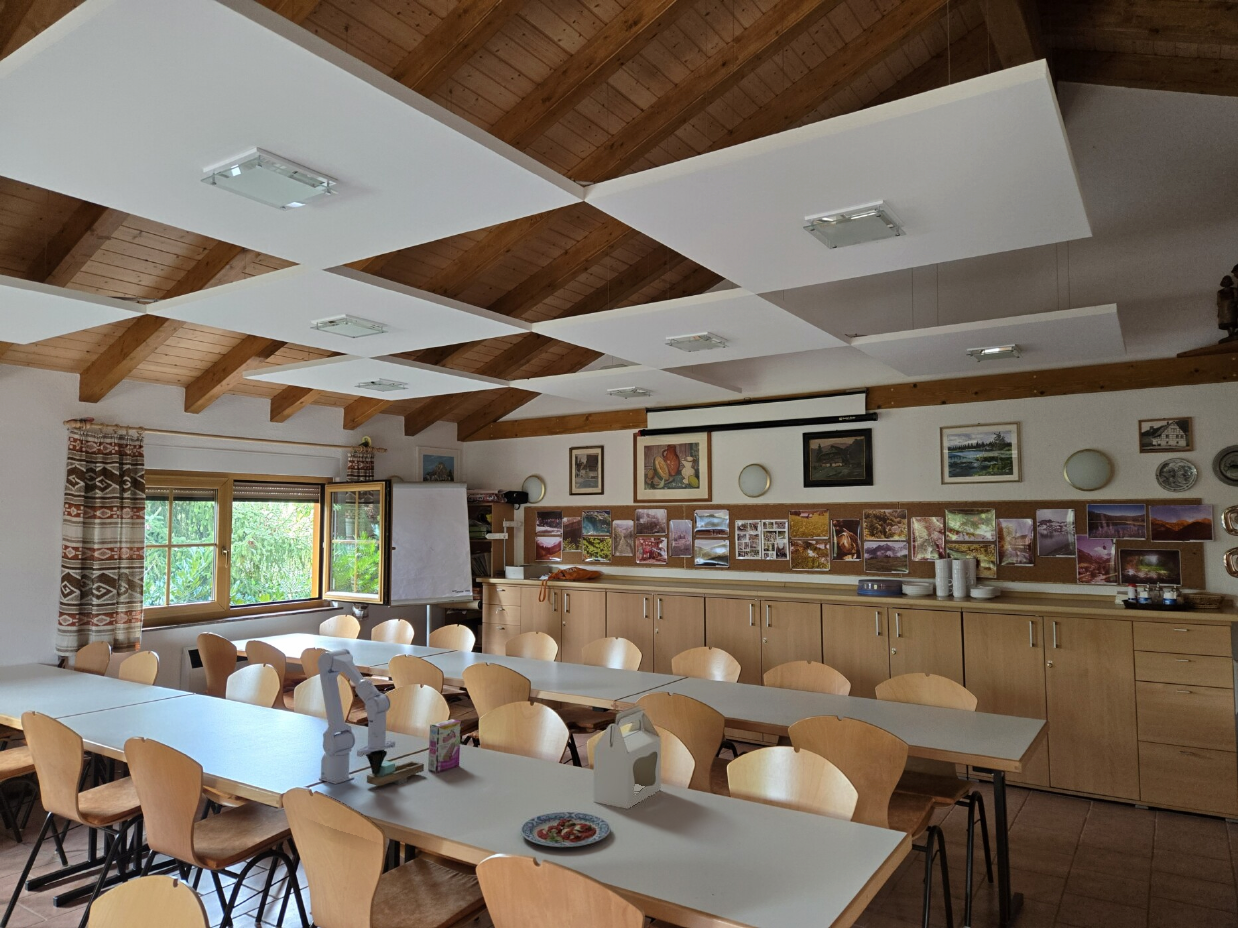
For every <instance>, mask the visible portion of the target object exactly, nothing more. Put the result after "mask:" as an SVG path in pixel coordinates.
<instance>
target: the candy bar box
mask: <svg viewBox="0 0 1238 928" xmlns="http://www.w3.org/2000/svg"><path fill="white" fill-rule="evenodd" d="M461 727H462V721H461V720H458V719H453V718H452V719H449V720H445V721H440V722H435V723H431V724H429V736H428V737H429V739H428V740H429V741H428V765H427V766H428V767H427V768H428V769H427V770H428V771H429V772H432V773H435V774H437V773H441V772H443V771H446V770H450V769H453V768H456V767H457V768H458V767H460V753H461V752H460V751H461V749H460V748H461Z"/></svg>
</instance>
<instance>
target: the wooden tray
mask: <svg viewBox="0 0 1238 928" xmlns="http://www.w3.org/2000/svg"><path fill="white" fill-rule="evenodd" d="M424 770H425V764H424V763H422V762H418V761H414V760H411V761H408V762H405V763H401V764H395V771H393V773H391V774H388V775H385V776H381V777H377V774H372V773H370V774H366V784H368V785H369V784H370V785H374V786H376V787H380V786H384V785H386V784H389V783H392V784H395V785H401V784H404V783H407V782H408V777H410V776H413V775H416V774H419V773H422V772H424Z"/></svg>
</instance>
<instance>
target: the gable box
mask: <svg viewBox="0 0 1238 928" xmlns="http://www.w3.org/2000/svg"><path fill="white" fill-rule="evenodd" d="M645 710H646V709H645V708H644V709H642V706H641V705H639V704H638V705H636V706H633V707H631V708H628V709H625V710H623V711H620V712H617V713H615V716H614V723H611V724H609V725H608V726H607V727H606V729H605V731H604V732H603V733H602V735H601V736H600V738H599V739H598V741H597V742H596V744H595V745H594V746H593V789H592V790H593V792H592V793H593V794H592V795H593V797H592V798H593V803H597V804H601V805H605V804H606V805H605V806H610V805H612V806H611V807H614V806H617V807H616V808H619V807H623V808H628V809H627V810H630V809H631V808H633V807H634V806H633V805H635V804H637V803H638V802H640V803H641V801H642V800H643V801H645V800H646V799H645V798H647V797H648V796H650V797H652V796H653V795H652V794H654V793H655V792H657V791H658V790H660V789H662V787H661V786H662V785H661V783H662V782H661V780H662V775H661V774H662V769H661V768H662V764H661V763H662V738H661V736H660V735H659V733H658V731H657V730H656V729H655V727H654V725H653V723H652V722H651V720H650V719H649V717H648V716H647V715H646V713H645ZM629 724H631V726H630V727H629V730H628V731H627V732H624V733H622V730H621V728H622V727H625V726H626V725H629ZM635 784H639V785H641V786H645V787H644V788H642V789H641V790H640V791H634V786H635ZM660 791H661V790H660ZM634 792H639V793H634ZM657 793H658V792H657ZM635 794H636V795H635ZM655 794H656V793H655ZM655 794H654V795H655ZM651 795H652V796H651ZM648 798H649V797H648ZM648 798H647V799H648ZM644 799H645V800H644ZM643 801H642V802H643ZM638 804H639V803H638ZM638 804H637V805H638ZM632 806H633V807H632ZM635 806H636V805H635ZM630 807H631V808H630ZM623 808H622V809H623ZM629 808H630V809H629Z"/></svg>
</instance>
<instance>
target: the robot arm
mask: <svg viewBox="0 0 1238 928" xmlns="http://www.w3.org/2000/svg"><path fill="white" fill-rule="evenodd" d="M317 666H318V672H319V678H320V679H319V680H320V685H321V691H322V696H323V702H324V708H325V713H326V720H327V728H326V730H325V731H324V732H323V733H322V736H323V737H322V738H323V739H322V740H323V741H322V749H323V751H324V754H323V755H322V757H321V761H320V762H321V764H320V776H319V777H318V779H319V780H321V781H325V782H328V783H330V784H331V783H332V784H335V785H336V784H339V783H344V782H347V781H349V780H352V779H355V776H353V775H350V753H351V752H352V749H353V748H354V747H355V745H356V737H355V734H354V733H353V731H352V730H353V729H352V726H351V725H349V724H348V723H346V721H345V718H344V717H345V715H344V711H343V705H342V700H341V695H340V694H341V693H340V688H339V681H338V677H339V676H340V674H341V673H343V675H345V676H346V678H348V679H349V680H350V681H351V682H352V683H353V685H355V689H354V690H355V692H356V694H357V695H358V697H359V698H360V699H361V700H362V701H363V703H364V710H365V712H366V719H367V720H368V727H367V745H366V746H363V747H362V748H360V749H357V750H356V756H357V757H361V758H362V757H364V756H366V758H367V760H368V763H369V766H370V769H371V774H379V772H380V769H381V765H382V762H383V761H385V758H386V756H387V754H388V751H387V749H390V748H396V741H395V740H388V741H386V733H387V731H386V730H387V712H388V711H389V710H390V708H391V700H390V698H389V696H388V695H387V694H386V693H382V692H380V691H379V690H378V689H377V687H376V686H375V685H374V684H373V682H372V680H370V679H365V678H364V677H363V675H362V674H361V672H360V670H359V669H358V667H357V666H356V664H355V663H354V656H353V654H352V653H351V651H350V650H349V649H348V648H341V649H337V650H331V651H324V652H322V653H321V654H320V655H319V657H318V659H317Z"/></svg>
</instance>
